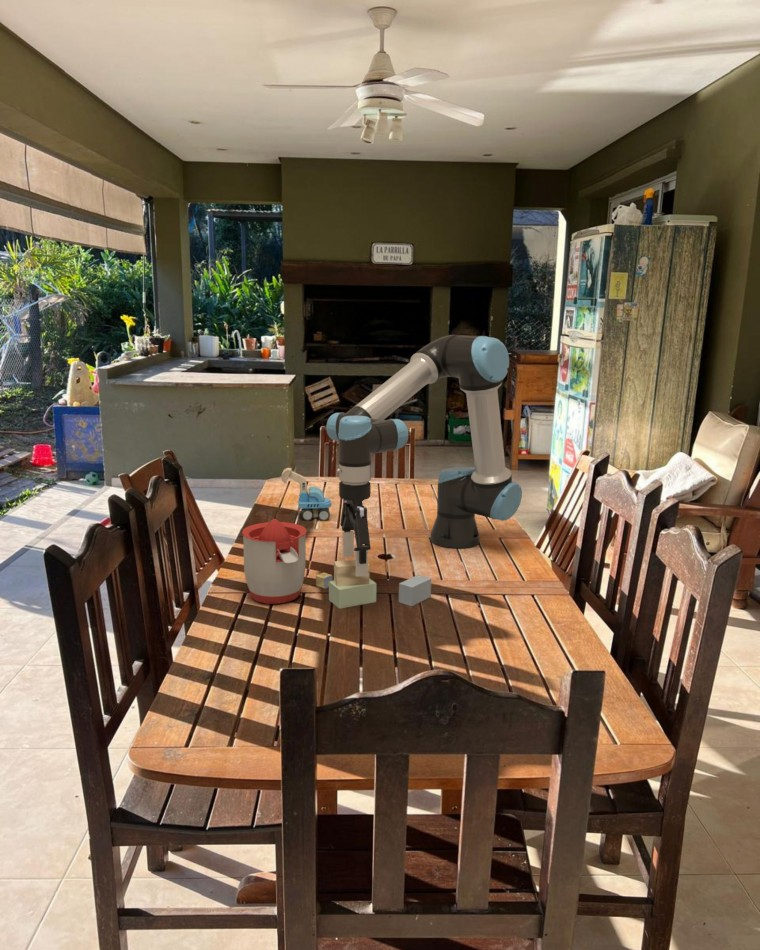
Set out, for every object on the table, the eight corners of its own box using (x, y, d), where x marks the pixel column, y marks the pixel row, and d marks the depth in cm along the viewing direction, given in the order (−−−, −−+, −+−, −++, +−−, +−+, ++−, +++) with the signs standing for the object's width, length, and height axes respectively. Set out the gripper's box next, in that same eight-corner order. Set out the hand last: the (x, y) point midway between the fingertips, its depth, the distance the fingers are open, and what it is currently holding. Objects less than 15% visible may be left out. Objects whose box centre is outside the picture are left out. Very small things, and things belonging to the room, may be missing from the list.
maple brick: (365, 578, 188) (365, 559, 187) (369, 584, 184) (369, 564, 183) (333, 580, 186) (334, 561, 185) (336, 586, 182) (337, 566, 181)
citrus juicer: (261, 616, 176) (260, 533, 171) (233, 591, 190) (231, 515, 186) (321, 603, 184) (321, 524, 180) (290, 580, 198) (289, 507, 194)
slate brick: (417, 593, 192) (418, 574, 191) (430, 597, 190) (431, 578, 188) (398, 602, 186) (399, 583, 185) (411, 606, 183) (412, 587, 182)
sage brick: (365, 594, 191) (365, 575, 190) (376, 602, 186) (376, 583, 185) (328, 600, 186) (328, 581, 185) (339, 609, 181) (339, 589, 180)
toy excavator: (282, 514, 260) (282, 465, 256) (331, 514, 261) (331, 465, 257) (281, 521, 251) (280, 471, 248) (331, 521, 253) (332, 471, 249)
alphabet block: (324, 589, 193) (324, 577, 193) (315, 586, 195) (315, 574, 195) (332, 586, 195) (332, 574, 195) (324, 583, 198) (324, 571, 197)
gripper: (328, 470, 190) (328, 550, 195) (351, 495, 167) (351, 585, 172) (357, 468, 192) (357, 548, 197) (384, 493, 169) (383, 582, 174)
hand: (354, 565), depth 185 cm, fingers open, 13 cm apart
